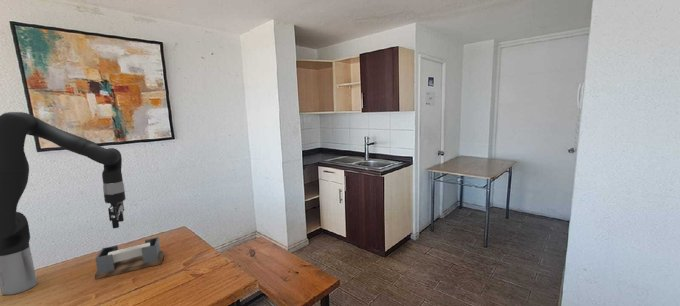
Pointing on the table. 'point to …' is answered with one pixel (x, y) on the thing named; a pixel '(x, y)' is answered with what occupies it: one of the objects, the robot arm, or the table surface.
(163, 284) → the table surface
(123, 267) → the plank
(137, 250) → the block
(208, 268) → the table surface
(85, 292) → the table surface
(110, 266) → the grey boxes
